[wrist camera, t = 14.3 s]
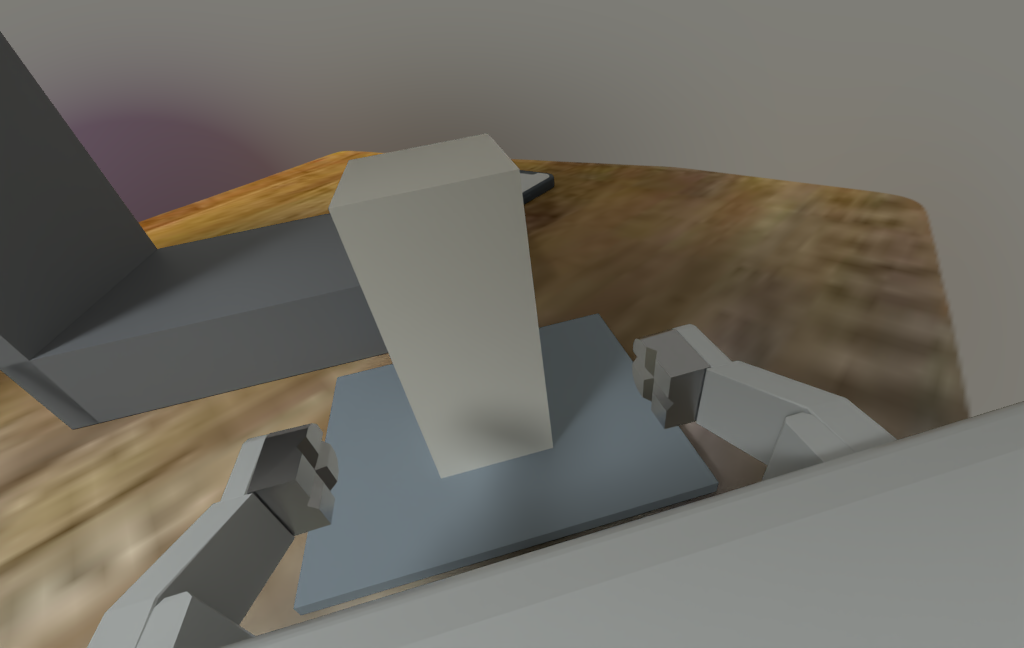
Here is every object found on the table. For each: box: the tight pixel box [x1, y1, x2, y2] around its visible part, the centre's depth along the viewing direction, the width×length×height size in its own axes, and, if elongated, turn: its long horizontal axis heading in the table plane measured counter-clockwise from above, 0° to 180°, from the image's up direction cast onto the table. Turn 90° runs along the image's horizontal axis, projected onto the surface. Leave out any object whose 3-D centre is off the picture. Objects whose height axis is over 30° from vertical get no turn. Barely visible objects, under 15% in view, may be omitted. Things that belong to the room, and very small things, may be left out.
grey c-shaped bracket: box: [0, 32, 388, 429], centre depth 23 cm, size 26×14×28 cm, turn 103°
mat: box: [294, 314, 719, 615], centre depth 20 cm, size 16×12×1 cm
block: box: [328, 133, 553, 478], centre depth 16 cm, size 5×5×12 cm
